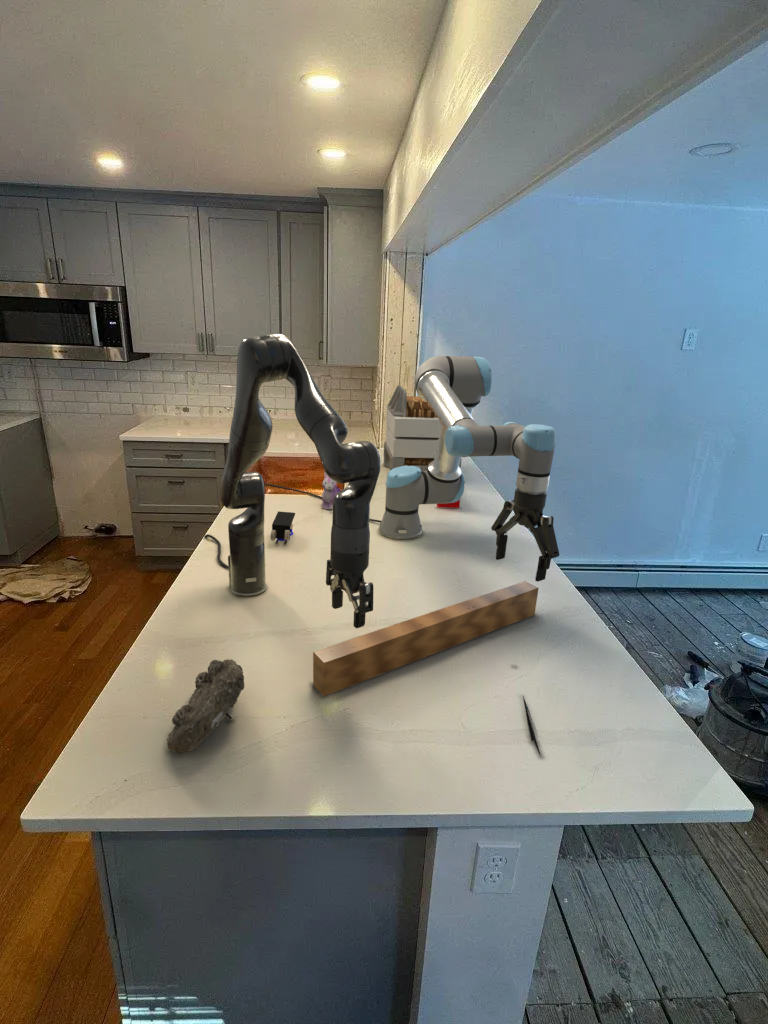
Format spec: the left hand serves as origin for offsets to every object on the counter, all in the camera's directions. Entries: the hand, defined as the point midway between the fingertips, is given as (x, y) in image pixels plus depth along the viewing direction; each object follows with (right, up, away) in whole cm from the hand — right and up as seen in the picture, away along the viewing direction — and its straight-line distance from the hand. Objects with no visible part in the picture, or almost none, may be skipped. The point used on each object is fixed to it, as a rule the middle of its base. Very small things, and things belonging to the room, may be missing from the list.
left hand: (347, 616), depth 115 cm
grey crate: (+25, +40, +160) cm, 166 cm away
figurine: (-13, +24, +109) cm, 112 cm away
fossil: (-25, -18, -7) cm, 32 cm away
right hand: (+42, +7, +29) cm, 51 cm away
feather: (+36, -18, -1) cm, 40 cm away
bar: (+20, -10, +19) cm, 29 cm away
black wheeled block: (-27, +12, +76) cm, 81 cm away
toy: (+33, +27, +126) cm, 133 cm away
